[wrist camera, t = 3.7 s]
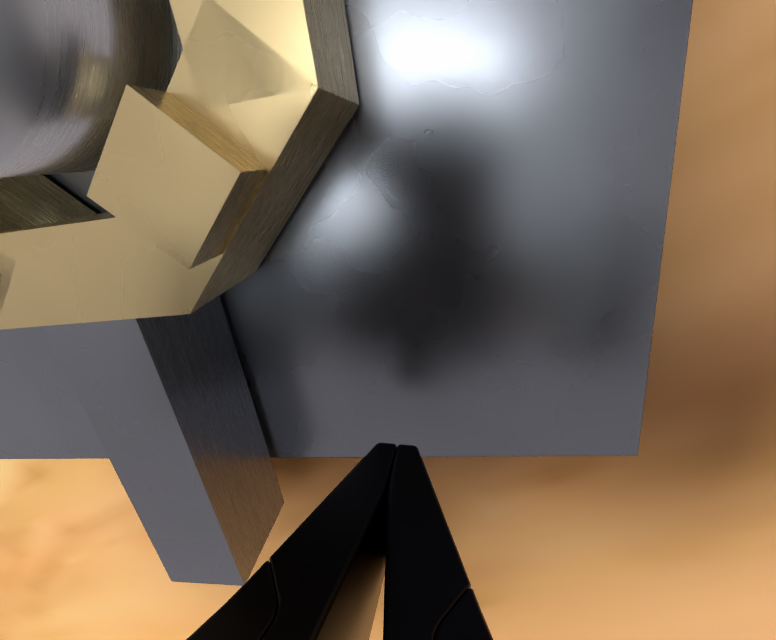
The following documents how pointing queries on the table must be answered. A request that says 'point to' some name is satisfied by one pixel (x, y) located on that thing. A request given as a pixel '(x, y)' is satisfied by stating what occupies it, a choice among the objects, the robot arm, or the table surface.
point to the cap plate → (404, 224)
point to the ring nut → (183, 265)
